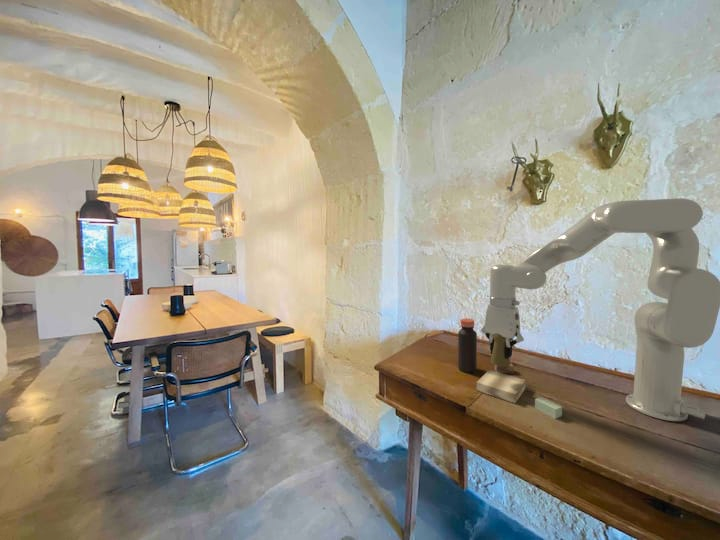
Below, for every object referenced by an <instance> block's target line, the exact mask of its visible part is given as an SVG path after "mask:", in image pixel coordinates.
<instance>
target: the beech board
mask: <svg viewBox="0 0 720 540" xmlns="http://www.w3.org/2000/svg"><path fill="white" fill-rule="evenodd" d="M525 389H526V379H523V378H520V377H516V376H513V375H509V374H507V373H499V372H496V371H495V370H490V369H488V370H487V371H486V372H485V373H484V374H483V375H482V376H481V377H479V379H478V380H477V381H476V392H479V393H482V394H485V393H486V394H485V395H488V394H489V395H488V396H491V395H492V396H491V397H494V396H495V397H494V398H497V397H498V398H497V399H501V400H504V401H507V402H510V403H512V402H513V403H512V404H516V403H517V402H518V400H519V398H520V397H521V396H522V394H523V392H524V391H525Z"/></svg>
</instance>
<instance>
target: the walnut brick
mask: <svg viewBox="0 0 720 540" xmlns="http://www.w3.org/2000/svg"><path fill="white" fill-rule="evenodd" d="M514 368H515V367H514V365H513V364H512V362H510V366H506V367H503V366H497V365H494V371H495V372H499V373H502V374H515V373H514V370H515V369H514Z"/></svg>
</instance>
